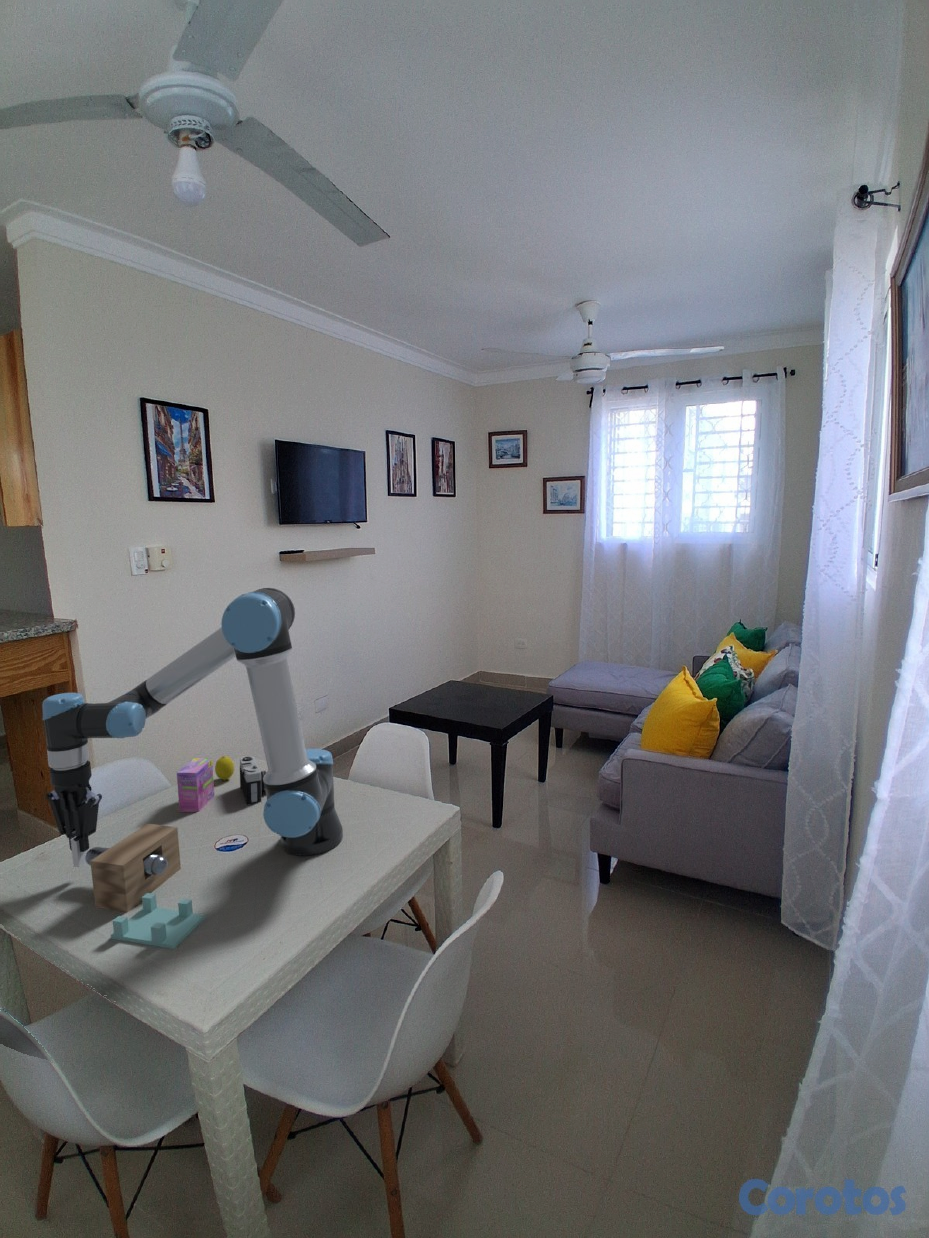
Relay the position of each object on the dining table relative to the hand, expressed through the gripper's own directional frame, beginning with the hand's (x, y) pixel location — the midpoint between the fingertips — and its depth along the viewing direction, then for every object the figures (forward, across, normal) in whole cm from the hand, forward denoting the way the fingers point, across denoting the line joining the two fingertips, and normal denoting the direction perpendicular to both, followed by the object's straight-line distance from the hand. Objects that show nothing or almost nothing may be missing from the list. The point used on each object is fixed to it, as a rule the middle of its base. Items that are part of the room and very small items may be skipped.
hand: (81, 863), depth 134 cm
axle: (0, -12, 0) cm, 12 cm away
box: (+4, -1, -38) cm, 38 cm away
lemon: (+4, +1, -54) cm, 54 cm away
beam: (+4, -15, 0) cm, 16 cm away
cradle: (+4, -28, +11) cm, 31 cm away
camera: (+4, -14, -47) cm, 49 cm away
